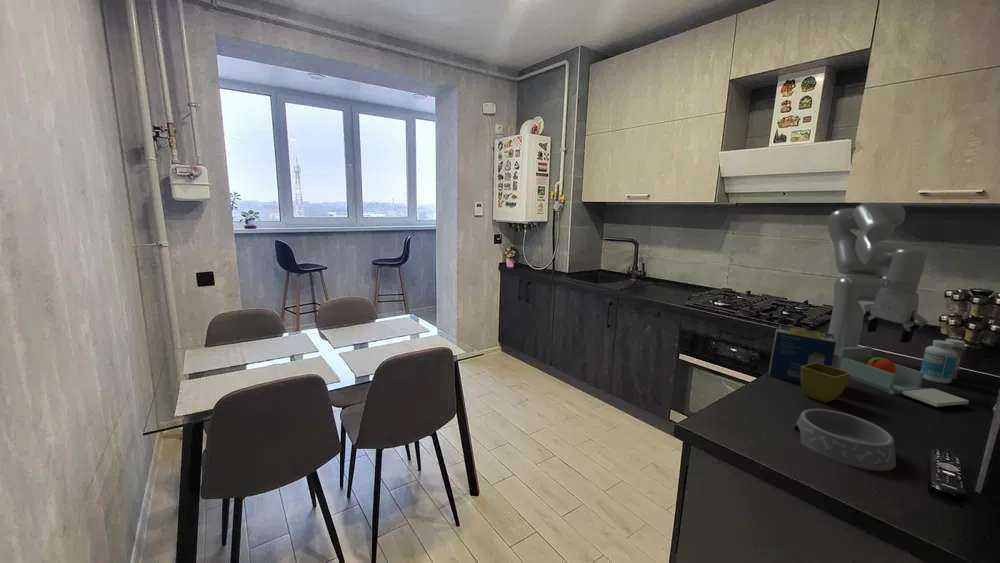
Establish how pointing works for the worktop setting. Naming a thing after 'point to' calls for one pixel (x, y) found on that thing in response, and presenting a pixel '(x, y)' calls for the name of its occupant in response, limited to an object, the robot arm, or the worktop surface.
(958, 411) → the worktop surface
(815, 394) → the flower pot
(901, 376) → the grey-green open bin
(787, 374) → the protein box
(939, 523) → the worktop surface
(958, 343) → the sprinkles bottle
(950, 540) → the worktop surface
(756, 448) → the worktop surface
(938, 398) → the panel
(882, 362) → the clementine
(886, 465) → the dog bowl
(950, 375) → the pill bottle
